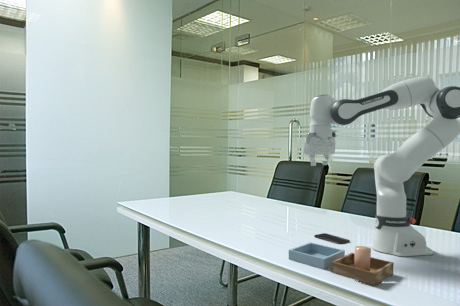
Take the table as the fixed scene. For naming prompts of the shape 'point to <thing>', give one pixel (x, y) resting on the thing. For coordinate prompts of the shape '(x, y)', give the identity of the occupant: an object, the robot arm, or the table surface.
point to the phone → (332, 238)
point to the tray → (372, 277)
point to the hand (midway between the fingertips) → (319, 165)
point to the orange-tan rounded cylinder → (362, 257)
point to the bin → (315, 255)
